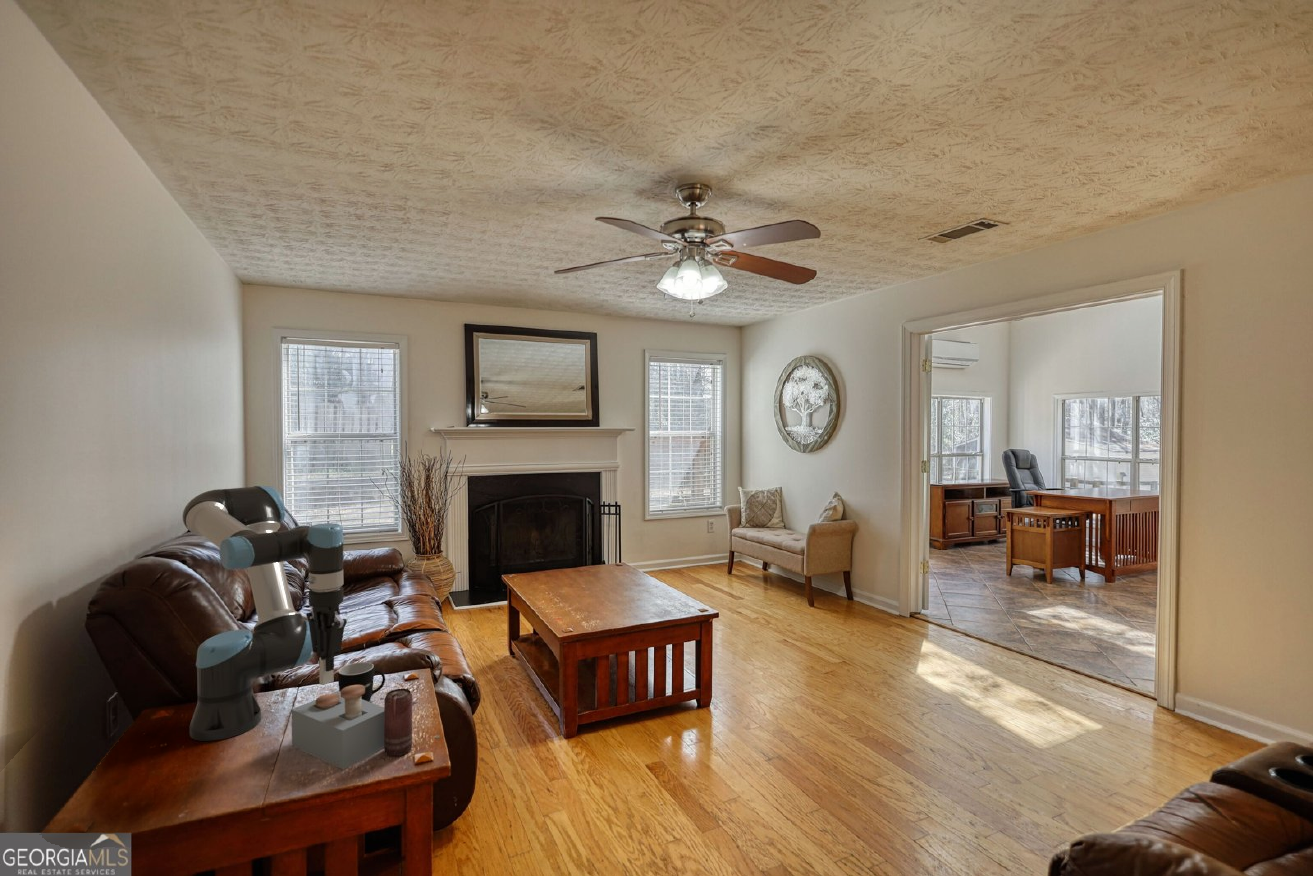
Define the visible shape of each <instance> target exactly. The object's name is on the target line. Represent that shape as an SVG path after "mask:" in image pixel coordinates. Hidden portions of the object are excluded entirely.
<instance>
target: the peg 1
mask: <svg viewBox="0 0 1313 876" xmlns="http://www.w3.org/2000/svg"><path fill="white" fill-rule="evenodd" d="M315 700H316V706H317V707H319V709H322V710H327V709H329V708H332V707H334V706H336V704H337V703H338V702H339V701H340V696H339V695H338V694H331V693H326V694H322V695H320V696H318V697H317V698H316V699H315Z"/></svg>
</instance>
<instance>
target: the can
mask: <svg viewBox="0 0 1313 876" xmlns="http://www.w3.org/2000/svg"><path fill="white" fill-rule="evenodd" d="M383 700H384V704H383V707H384V750H383V751H384V754H386V755H387V756H388V757H392V758H395V757H402V756H404V755H407V754H408V753H409V752H410V751H411V750H412V748H413V693H412V691H411V690H410V689H409V688H397V689H395V688H394V689H393V690H389V691H388V692H387V693H386V695H385V696H384V699H383Z"/></svg>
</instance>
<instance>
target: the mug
mask: <svg viewBox="0 0 1313 876" xmlns="http://www.w3.org/2000/svg"><path fill="white" fill-rule="evenodd" d="M374 666H375V665H374V664H373V663H371V662H367V661H358V662H352V663H349V664H346V665H343V666H342V667H340V668H339V669H338V671H337V681H338V682H337V683H338V684H337V685H338V691H340V692H341V690H342V689H343V688H345V687H348V686H351V685H363V686H365V693H364V694H363V695H361V699H362V700H365V701H368V702H370V701H371V699H372V696H373V695H374V694H376V693H377V692H379V691H380V690H381V689H382V688H383V686H384V685H385V683H386V676H385V673H384V672H383V671H381V670H379V669H375V667H374ZM375 674H380V675H381V677H382V679H381V680H382V681H381V683H380V685H379V686H378V687H376V688H375V689H374V678H375Z"/></svg>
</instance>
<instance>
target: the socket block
mask: <svg viewBox="0 0 1313 876" xmlns="http://www.w3.org/2000/svg"><path fill="white" fill-rule="evenodd" d="M330 694H338V695H339V696H340V701H339V702H338V703H337V704H336V706H334V707H332V708H329V709H327V710H322V709H319V707H317V706H316V699H314V700H311V701H309V702H307V703H305V704H302V705H300V706H297V707H294V708H292V709H291V746H292V747H293V748H295V749H297V750H300V751H302V752H304V753H306V754H308V755H311V756H312V757H315V758H317V759H319V760H322V761H324V762H326V763H328V764H329V765H332V766H334V767H336V768H338V769H340V770H346V769H348V768H349V767H351V766H353V765H355V764H357V763H359V762H360V761H361V762H362V760H365V759H366V758H369V757H371V756H372V755H374V754H376V753H378V752H379V751H382V750H383V749H384V706H382V705H379V704H376V703H373V702H368V701H365V700H362V699H361V703H362V716H360V717H358V718H355V719H353V720H351V721H350V720H347V719H345V698H342V697H341V692H340V691H339V690H337V691H334V692H332V693H330Z"/></svg>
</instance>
